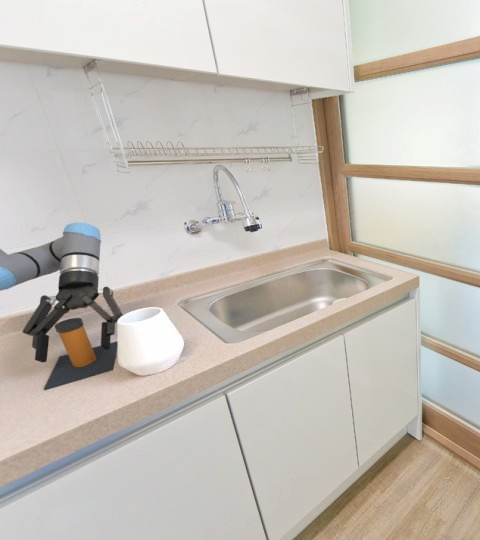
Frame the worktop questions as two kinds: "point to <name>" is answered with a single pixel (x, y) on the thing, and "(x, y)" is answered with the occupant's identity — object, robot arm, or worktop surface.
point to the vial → (76, 342)
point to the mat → (69, 373)
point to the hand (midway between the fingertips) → (74, 354)
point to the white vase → (148, 341)
